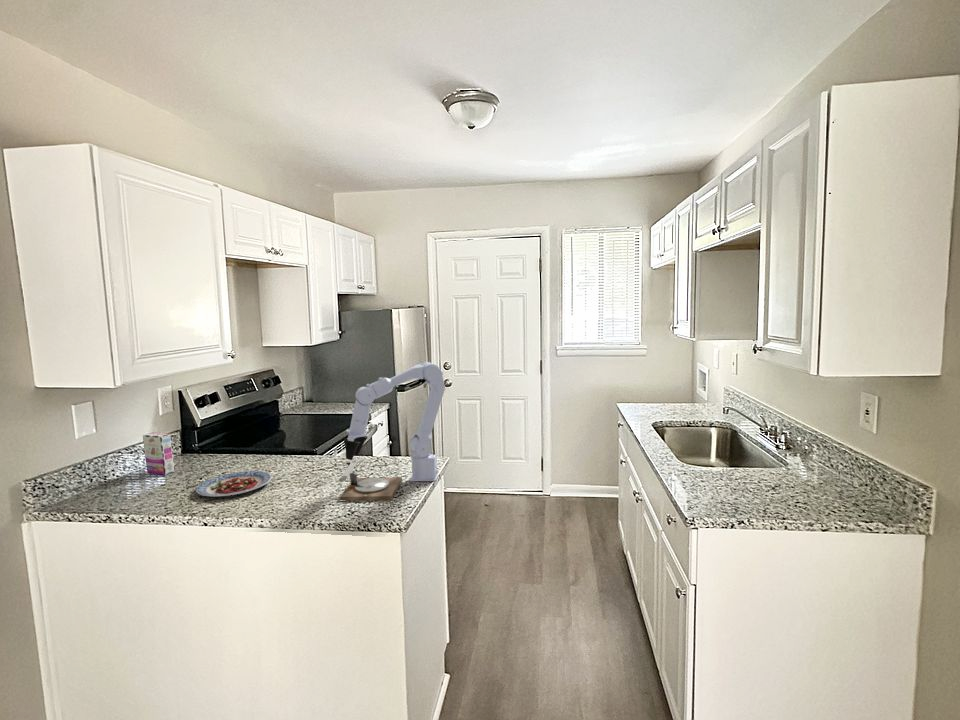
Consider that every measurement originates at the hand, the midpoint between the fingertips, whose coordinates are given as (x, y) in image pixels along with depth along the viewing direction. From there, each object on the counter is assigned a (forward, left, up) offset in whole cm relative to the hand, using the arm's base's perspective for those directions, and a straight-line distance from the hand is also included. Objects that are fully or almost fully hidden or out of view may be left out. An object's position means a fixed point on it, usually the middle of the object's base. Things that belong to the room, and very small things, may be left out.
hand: (352, 457), depth 188 cm
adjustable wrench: (+9, -22, -13) cm, 27 cm away
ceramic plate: (+47, -4, -13) cm, 49 cm away
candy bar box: (+89, -23, -12) cm, 93 cm away
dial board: (-7, +2, -12) cm, 14 cm away
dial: (-7, +2, -11) cm, 13 cm away
